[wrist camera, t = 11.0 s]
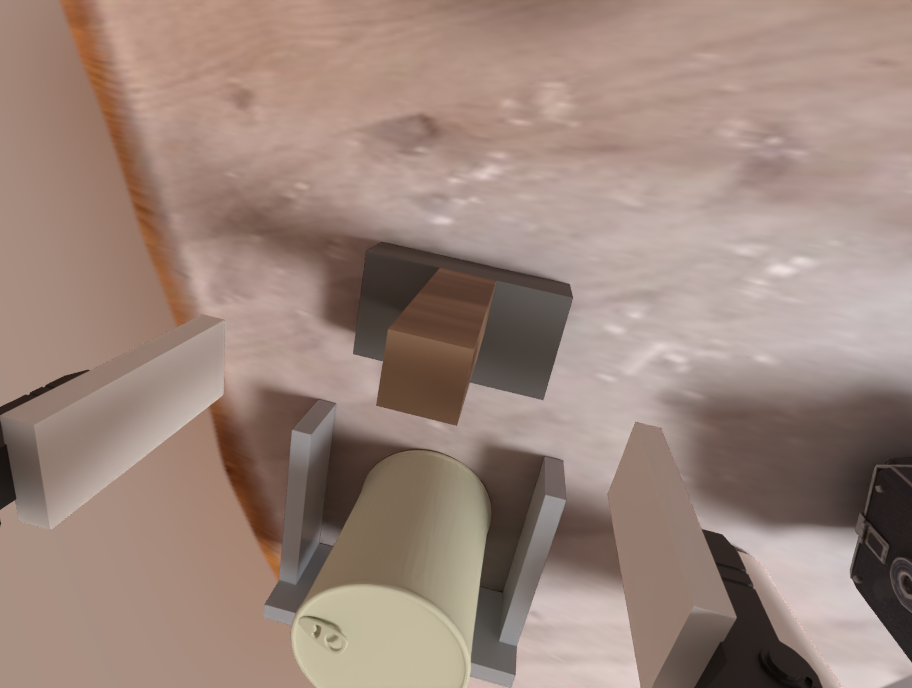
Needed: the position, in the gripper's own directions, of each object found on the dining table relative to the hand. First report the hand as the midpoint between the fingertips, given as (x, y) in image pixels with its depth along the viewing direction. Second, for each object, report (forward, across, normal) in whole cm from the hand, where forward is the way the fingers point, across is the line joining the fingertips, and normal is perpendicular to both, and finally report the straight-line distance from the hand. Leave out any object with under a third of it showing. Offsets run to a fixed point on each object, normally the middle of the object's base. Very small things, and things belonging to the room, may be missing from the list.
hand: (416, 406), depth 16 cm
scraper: (+15, 0, -2) cm, 15 cm away
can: (+15, 0, -16) cm, 22 cm away
